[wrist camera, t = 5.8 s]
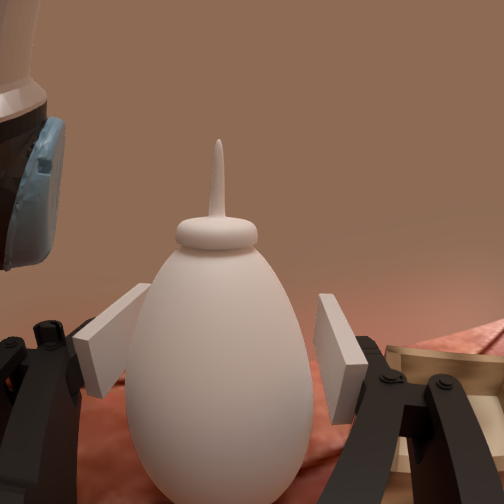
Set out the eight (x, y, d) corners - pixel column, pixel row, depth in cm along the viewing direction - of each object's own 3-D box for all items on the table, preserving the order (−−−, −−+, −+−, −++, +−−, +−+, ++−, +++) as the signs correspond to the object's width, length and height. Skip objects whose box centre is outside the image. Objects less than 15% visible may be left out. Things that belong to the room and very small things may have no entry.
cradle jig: (323, 523, 11) (342, 485, 10) (363, 377, 25) (372, 336, 24) (544, 513, 5) (584, 468, 4) (506, 389, 19) (522, 350, 18)
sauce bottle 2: (317, 489, 13) (379, 151, 10) (222, 571, 8) (195, 85, 4) (225, 433, 19) (225, 155, 15) (132, 484, 13) (68, 148, 9)
